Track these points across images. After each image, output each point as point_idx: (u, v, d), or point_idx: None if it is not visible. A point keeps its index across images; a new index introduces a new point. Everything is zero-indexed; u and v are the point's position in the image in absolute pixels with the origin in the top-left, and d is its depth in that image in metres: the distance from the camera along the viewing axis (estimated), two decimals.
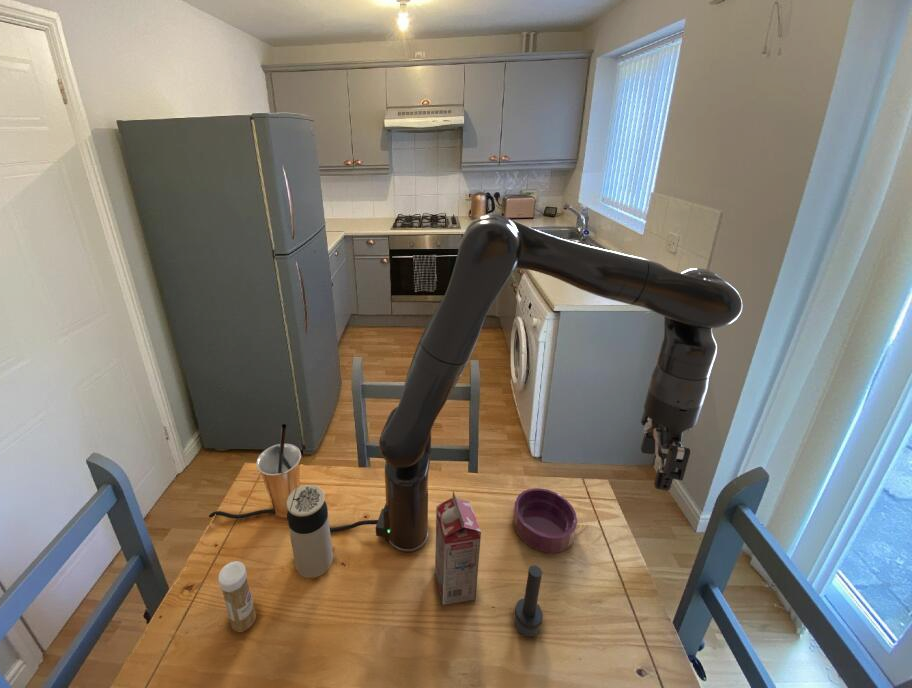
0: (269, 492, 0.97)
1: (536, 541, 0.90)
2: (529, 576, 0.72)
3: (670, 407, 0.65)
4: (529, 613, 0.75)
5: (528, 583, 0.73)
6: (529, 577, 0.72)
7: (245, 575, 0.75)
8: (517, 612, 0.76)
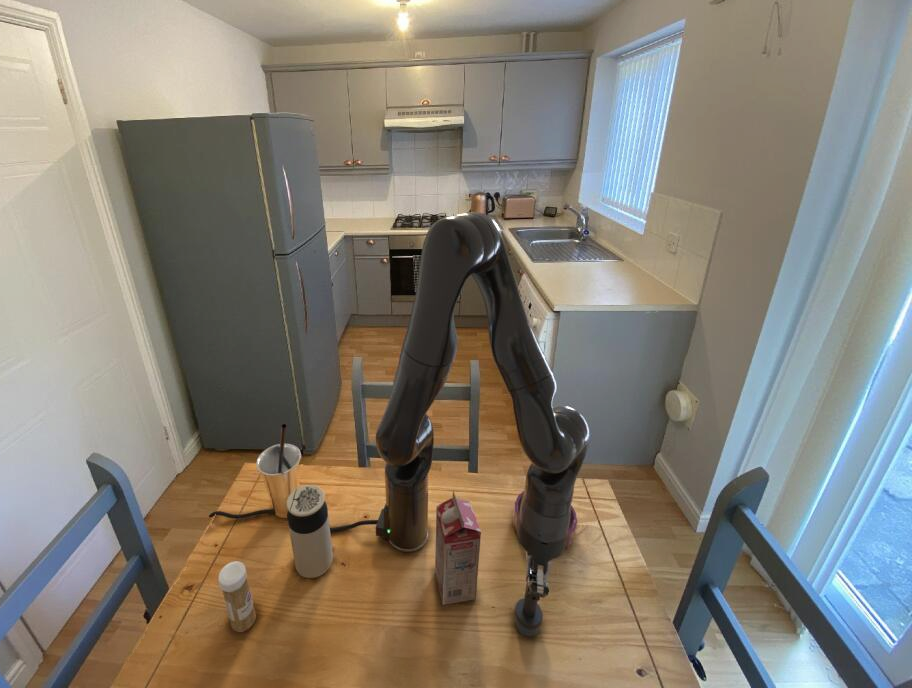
0: (269, 492, 0.97)
1: None
2: None
3: (533, 539, 0.65)
4: (529, 613, 0.75)
5: None
6: None
7: (245, 575, 0.75)
8: (517, 612, 0.76)
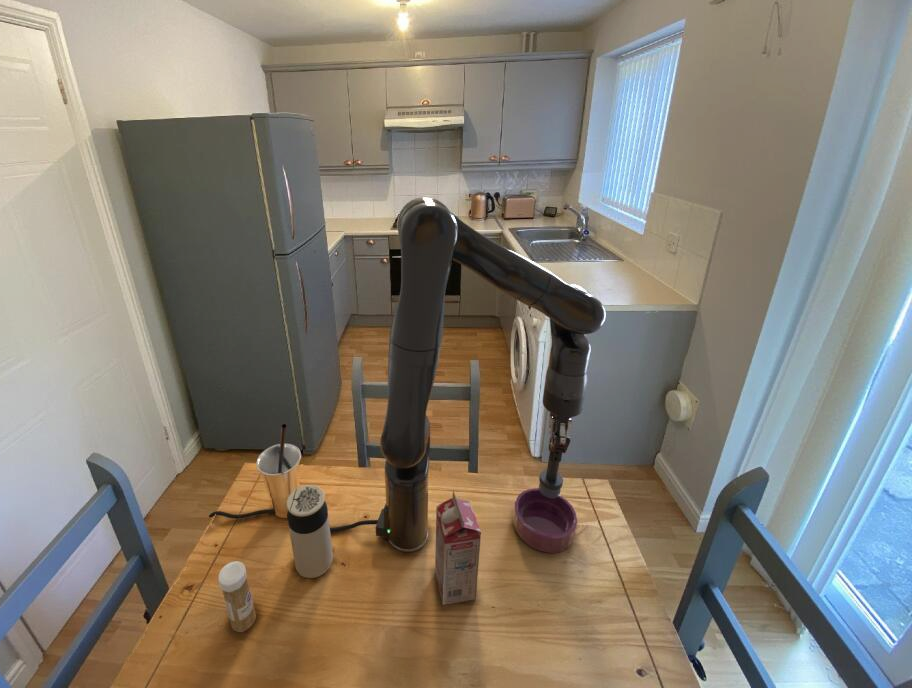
0: (269, 492, 0.97)
1: (536, 541, 0.90)
2: None
3: (557, 398, 0.79)
4: (552, 477, 0.89)
5: None
6: None
7: (245, 575, 0.75)
8: (541, 478, 0.90)
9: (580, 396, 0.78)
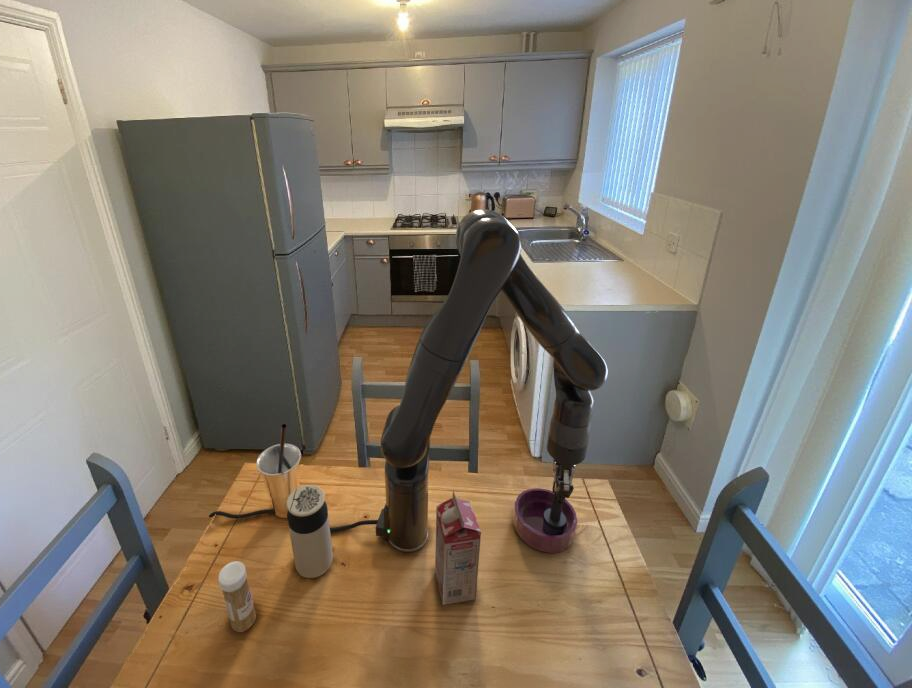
0: (269, 492, 0.97)
1: (536, 541, 0.90)
2: None
3: (561, 447, 0.83)
4: (555, 517, 0.93)
5: None
6: None
7: (245, 575, 0.75)
8: (545, 517, 0.94)
9: (583, 445, 0.82)
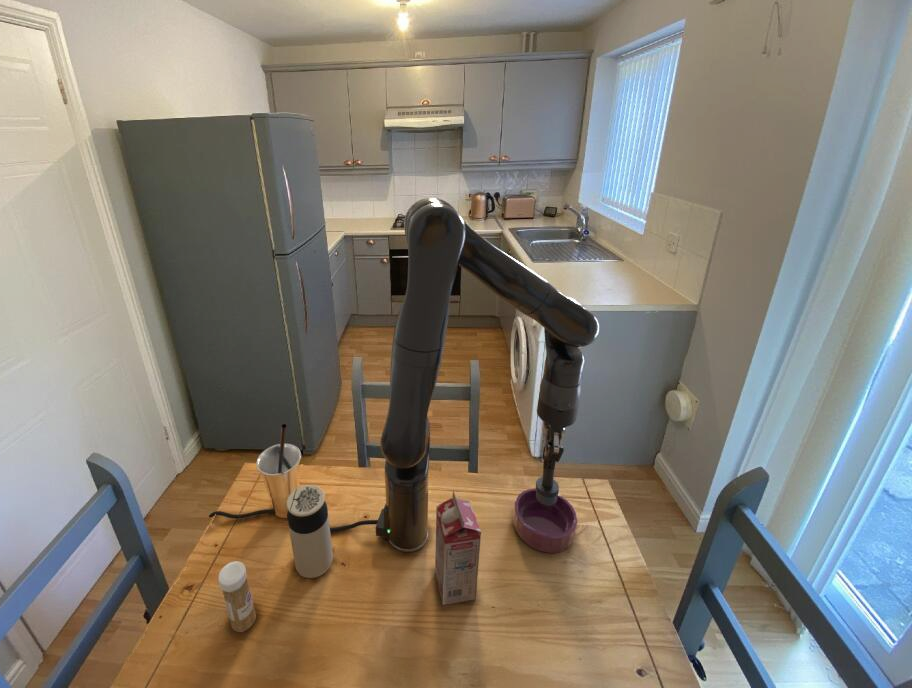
0: (269, 492, 0.97)
1: (536, 541, 0.90)
2: None
3: (551, 409, 0.81)
4: (547, 484, 0.90)
5: None
6: None
7: (245, 575, 0.75)
8: (537, 485, 0.92)
9: (573, 407, 0.80)
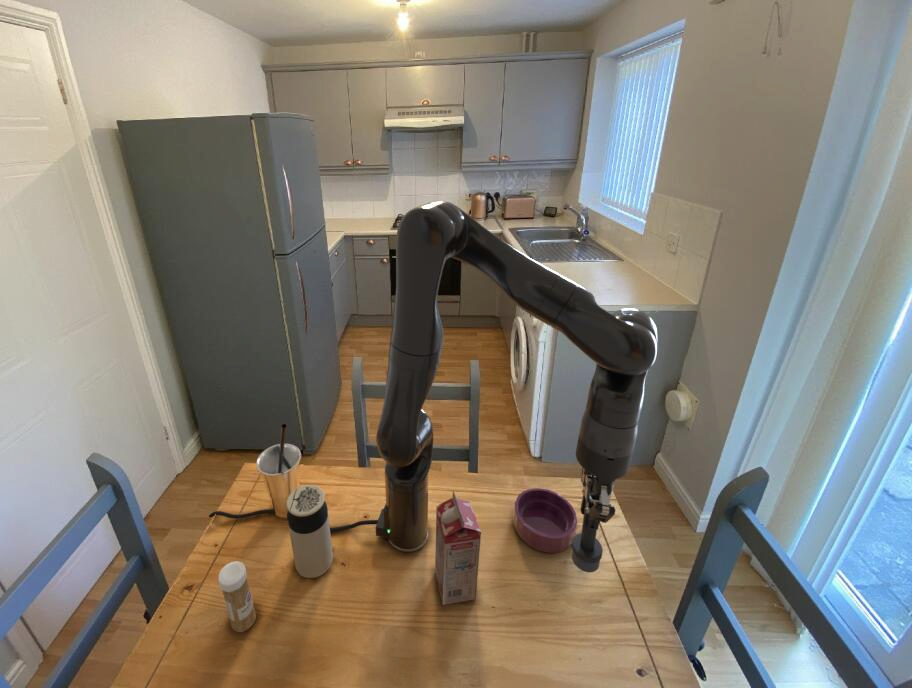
0: (269, 492, 0.97)
1: (536, 541, 0.90)
2: None
3: (598, 456, 0.61)
4: (588, 546, 0.70)
5: None
6: None
7: (245, 575, 0.75)
8: (574, 546, 0.72)
9: (628, 453, 0.60)
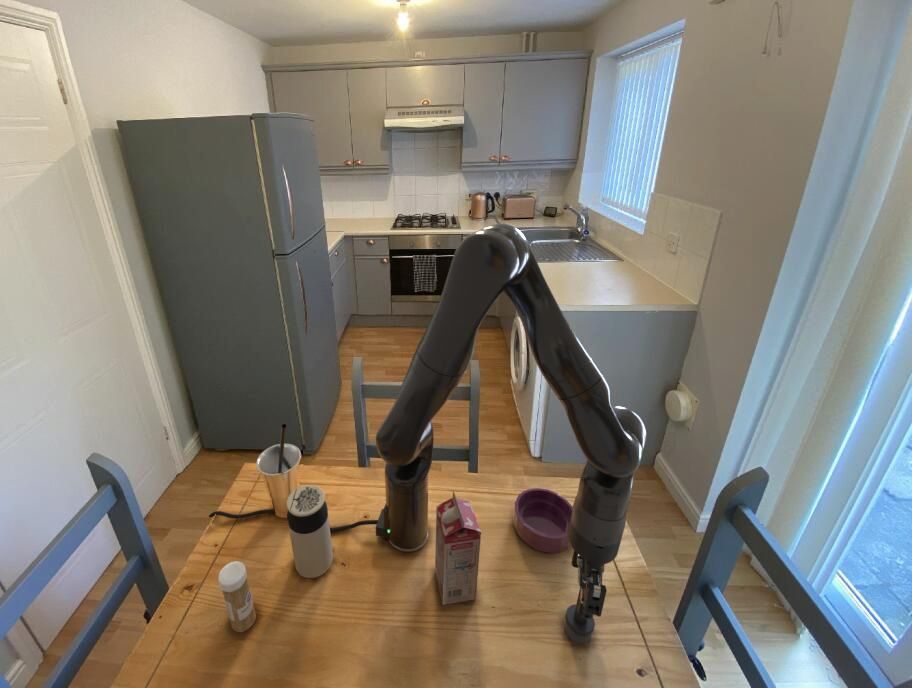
0: (269, 492, 0.97)
1: (536, 541, 0.90)
2: None
3: (588, 542, 0.64)
4: (581, 620, 0.74)
5: None
6: None
7: (245, 575, 0.75)
8: (568, 618, 0.75)
9: (617, 541, 0.63)
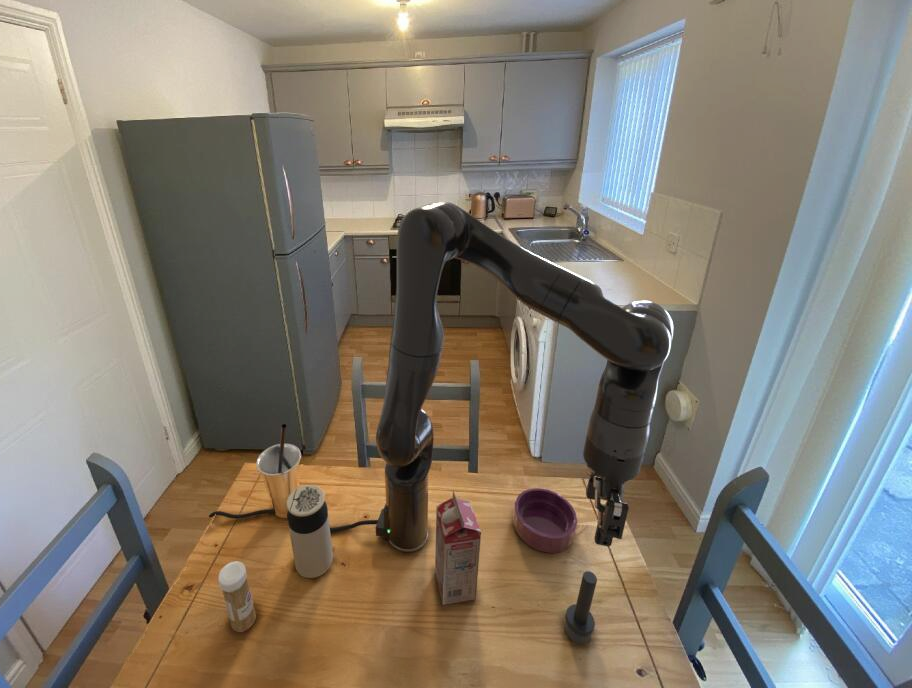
0: (269, 492, 0.97)
1: (536, 541, 0.90)
2: (583, 582, 0.71)
3: (607, 456, 0.57)
4: (581, 620, 0.74)
5: (582, 589, 0.72)
6: (583, 583, 0.71)
7: (245, 575, 0.75)
8: (568, 618, 0.75)
9: (640, 454, 0.57)
